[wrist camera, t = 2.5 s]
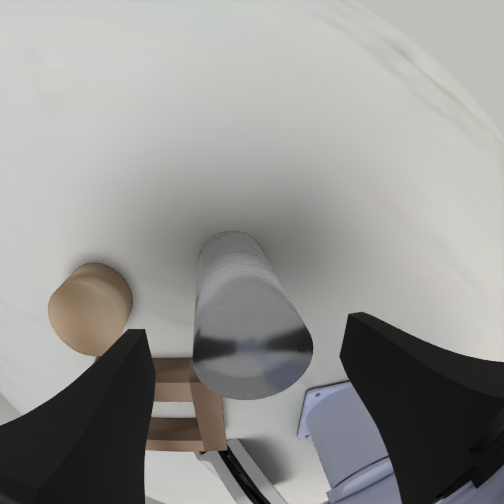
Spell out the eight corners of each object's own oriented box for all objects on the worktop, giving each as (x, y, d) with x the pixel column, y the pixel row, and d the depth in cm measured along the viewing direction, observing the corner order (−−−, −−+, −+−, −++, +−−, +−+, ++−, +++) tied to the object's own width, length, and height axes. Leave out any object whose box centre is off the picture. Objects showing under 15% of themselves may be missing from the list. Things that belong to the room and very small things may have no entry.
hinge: (190, 446, 23) (231, 520, 14) (229, 426, 24) (280, 495, 16) (239, 492, 29) (274, 539, 20) (267, 478, 30) (305, 522, 22)
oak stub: (126, 261, 16) (109, 284, 13) (138, 326, 18) (127, 358, 14) (63, 263, 15) (39, 285, 12) (79, 324, 17) (62, 353, 14)
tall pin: (264, 230, 17) (319, 303, 8) (263, 290, 18) (305, 392, 10) (196, 232, 16) (185, 313, 8) (201, 294, 17) (199, 403, 9)
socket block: (217, 357, 19) (219, 381, 17) (224, 428, 22) (227, 450, 20) (97, 356, 18) (87, 378, 15) (128, 427, 21) (125, 447, 18)
